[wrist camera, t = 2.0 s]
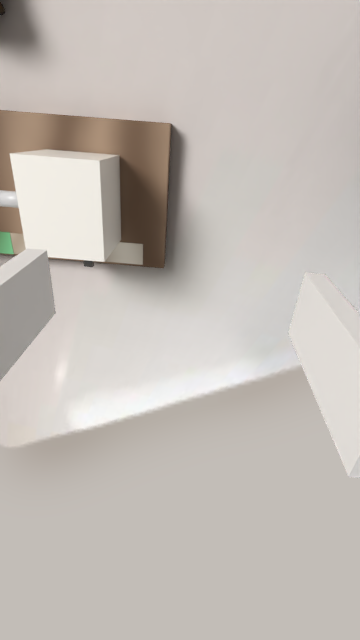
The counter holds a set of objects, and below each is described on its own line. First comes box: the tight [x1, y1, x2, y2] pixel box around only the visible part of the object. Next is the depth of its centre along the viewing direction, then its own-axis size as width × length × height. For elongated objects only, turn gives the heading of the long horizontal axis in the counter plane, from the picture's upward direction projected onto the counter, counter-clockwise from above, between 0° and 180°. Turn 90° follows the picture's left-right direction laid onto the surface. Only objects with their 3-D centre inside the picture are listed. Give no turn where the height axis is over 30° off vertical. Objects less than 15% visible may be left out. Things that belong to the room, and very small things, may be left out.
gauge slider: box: [0, 149, 121, 267], centre depth 27 cm, size 9×10×6 cm
